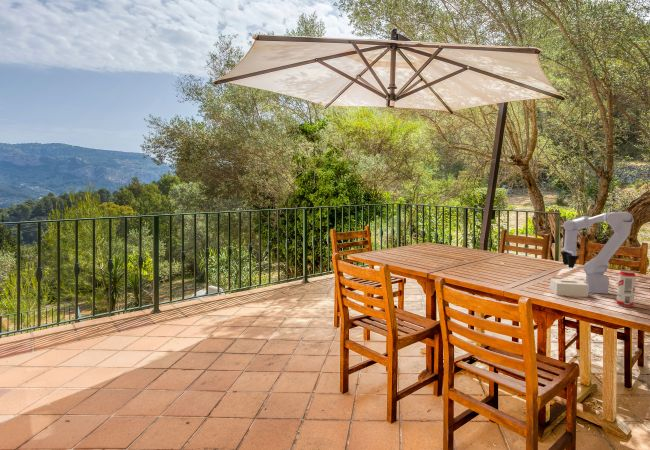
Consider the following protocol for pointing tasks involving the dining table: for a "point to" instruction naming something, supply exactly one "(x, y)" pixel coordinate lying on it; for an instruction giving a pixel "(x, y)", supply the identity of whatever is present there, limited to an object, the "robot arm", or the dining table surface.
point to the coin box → (569, 287)
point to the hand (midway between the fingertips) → (568, 266)
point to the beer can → (626, 288)
